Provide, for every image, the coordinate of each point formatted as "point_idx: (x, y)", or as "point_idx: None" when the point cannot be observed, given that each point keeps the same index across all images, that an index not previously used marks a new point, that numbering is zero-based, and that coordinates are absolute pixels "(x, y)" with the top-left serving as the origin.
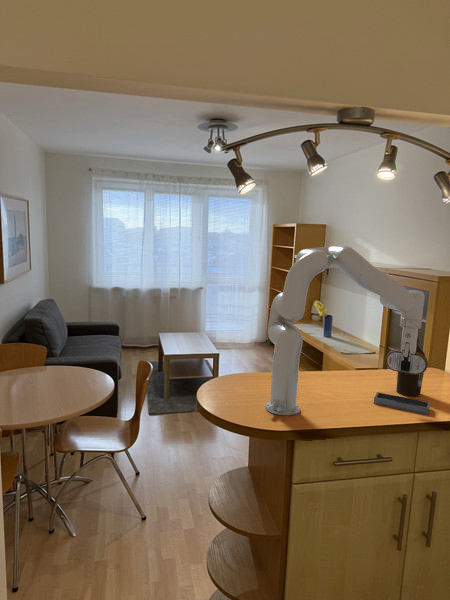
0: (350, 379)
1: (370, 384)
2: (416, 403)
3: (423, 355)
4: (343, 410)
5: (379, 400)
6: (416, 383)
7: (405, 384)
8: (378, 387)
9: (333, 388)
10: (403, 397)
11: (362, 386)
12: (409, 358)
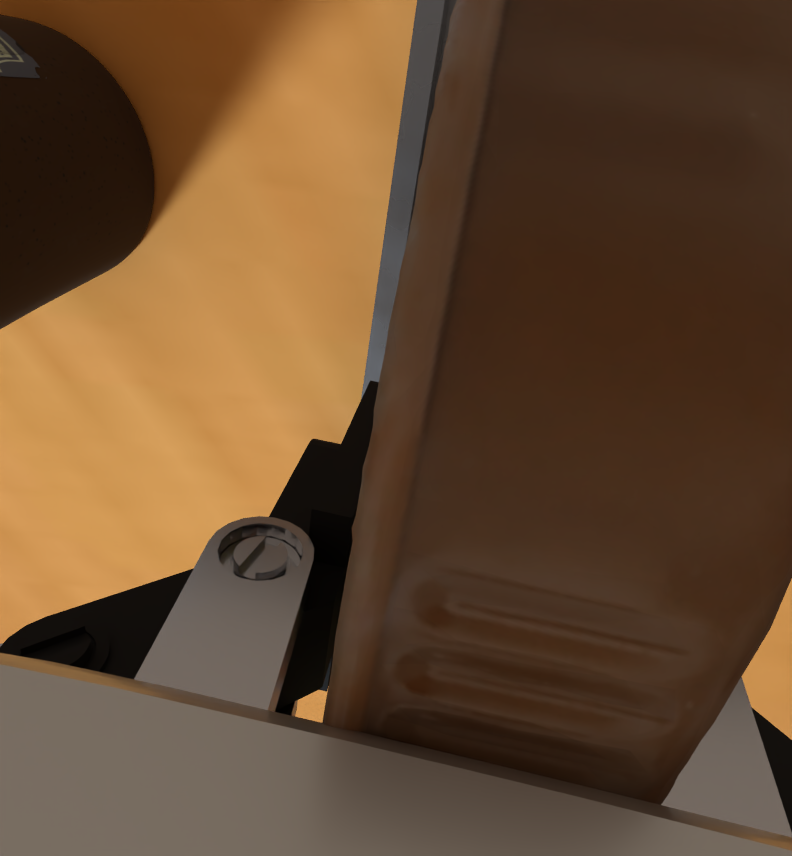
0: (37, 589)
1: (46, 471)
2: (430, 110)
3: (451, 216)
4: (745, 681)
5: None
6: (26, 96)
7: (86, 235)
8: (76, 418)
9: (311, 694)
10: (394, 263)
11: (140, 529)
12: (745, 732)
